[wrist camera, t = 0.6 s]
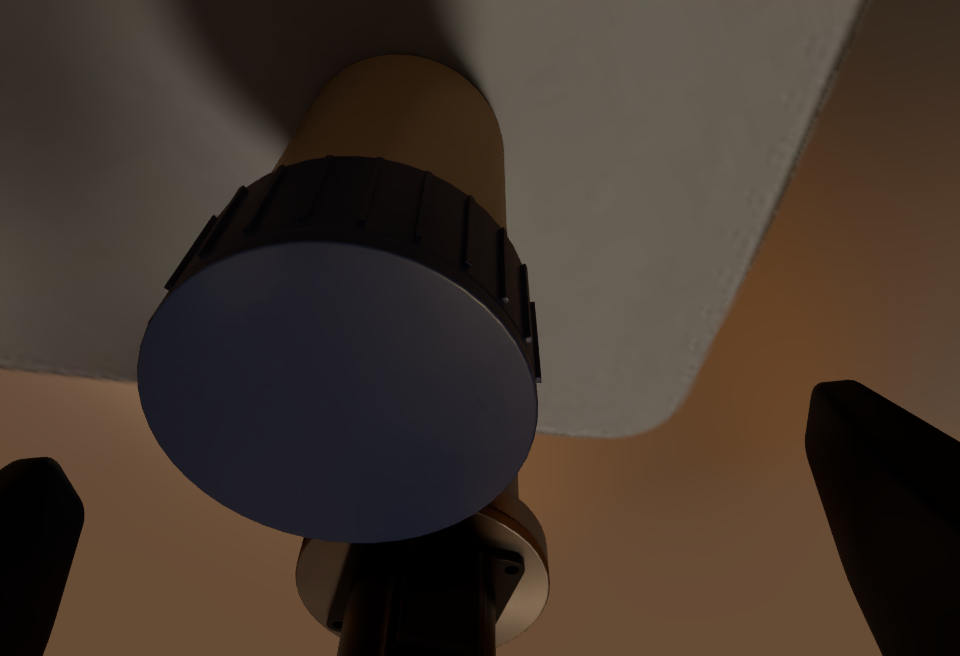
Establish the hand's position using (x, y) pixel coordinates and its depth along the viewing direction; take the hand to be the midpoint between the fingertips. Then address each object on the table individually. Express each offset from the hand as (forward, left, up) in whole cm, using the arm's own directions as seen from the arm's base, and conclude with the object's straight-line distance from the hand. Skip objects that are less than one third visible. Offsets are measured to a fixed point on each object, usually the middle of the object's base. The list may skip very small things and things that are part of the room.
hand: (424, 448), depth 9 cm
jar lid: (-2, +1, -5) cm, 5 cm away
